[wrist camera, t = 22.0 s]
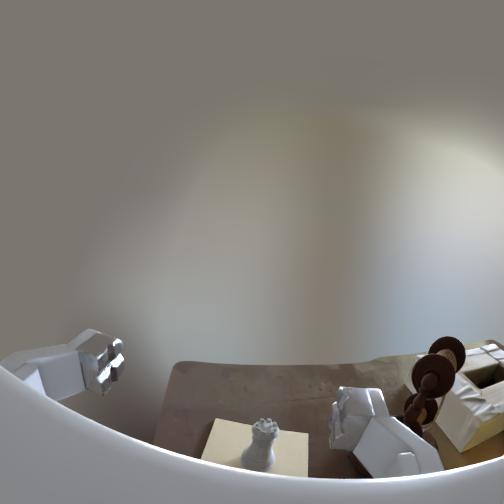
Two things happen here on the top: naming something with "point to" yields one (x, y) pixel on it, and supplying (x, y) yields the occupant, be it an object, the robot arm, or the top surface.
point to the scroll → (428, 390)
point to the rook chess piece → (261, 447)
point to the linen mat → (240, 437)
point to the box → (472, 398)
